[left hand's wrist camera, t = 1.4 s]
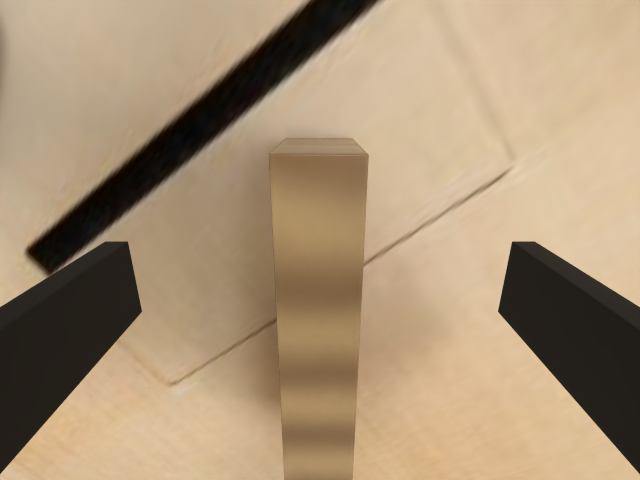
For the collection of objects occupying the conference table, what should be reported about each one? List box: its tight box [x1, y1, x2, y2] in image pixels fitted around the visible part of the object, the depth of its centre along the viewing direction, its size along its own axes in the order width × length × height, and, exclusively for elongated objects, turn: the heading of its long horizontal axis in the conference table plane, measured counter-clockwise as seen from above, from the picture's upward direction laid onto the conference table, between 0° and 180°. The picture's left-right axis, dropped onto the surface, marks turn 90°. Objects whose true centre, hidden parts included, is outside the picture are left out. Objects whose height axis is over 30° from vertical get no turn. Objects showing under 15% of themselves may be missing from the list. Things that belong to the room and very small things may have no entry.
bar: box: [269, 138, 369, 480], centre depth 23 cm, size 22×4×8 cm, turn 0°
